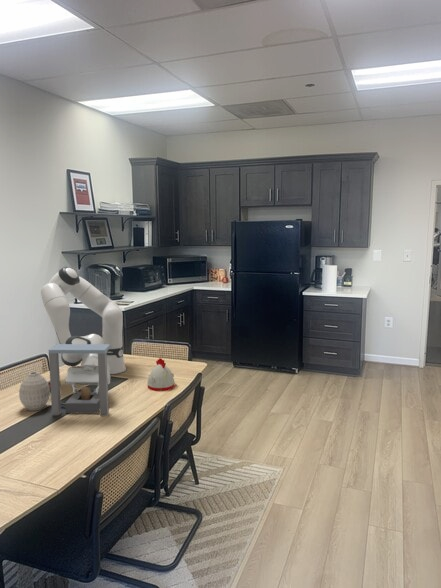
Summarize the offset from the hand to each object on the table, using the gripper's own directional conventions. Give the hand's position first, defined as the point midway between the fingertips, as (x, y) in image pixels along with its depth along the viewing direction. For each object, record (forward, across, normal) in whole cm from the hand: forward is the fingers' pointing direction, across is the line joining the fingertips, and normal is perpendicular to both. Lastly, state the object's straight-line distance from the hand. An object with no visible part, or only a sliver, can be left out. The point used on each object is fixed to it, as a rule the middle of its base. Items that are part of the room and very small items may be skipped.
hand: (85, 393), depth 197 cm
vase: (+6, -22, +4) cm, 23 cm away
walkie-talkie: (-9, -28, +19) cm, 35 cm away
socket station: (+5, 0, +4) cm, 7 cm away
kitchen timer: (-14, +31, +24) cm, 42 cm away
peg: (+4, 0, +5) cm, 7 cm away
